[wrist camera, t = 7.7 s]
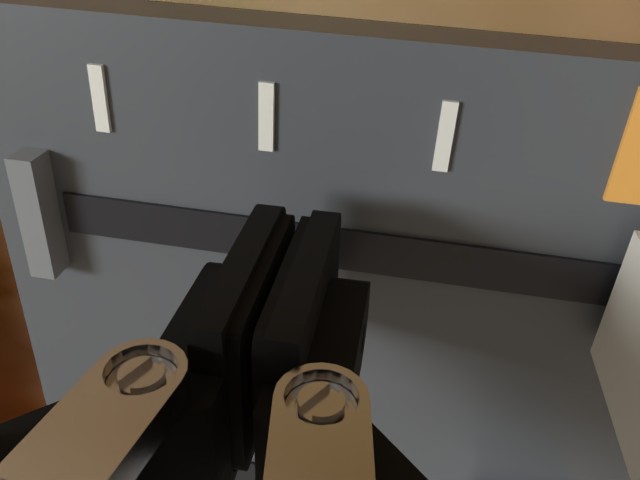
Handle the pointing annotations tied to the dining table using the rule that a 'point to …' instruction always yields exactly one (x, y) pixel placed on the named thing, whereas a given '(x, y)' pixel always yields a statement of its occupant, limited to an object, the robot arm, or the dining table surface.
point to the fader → (622, 356)
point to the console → (336, 203)
